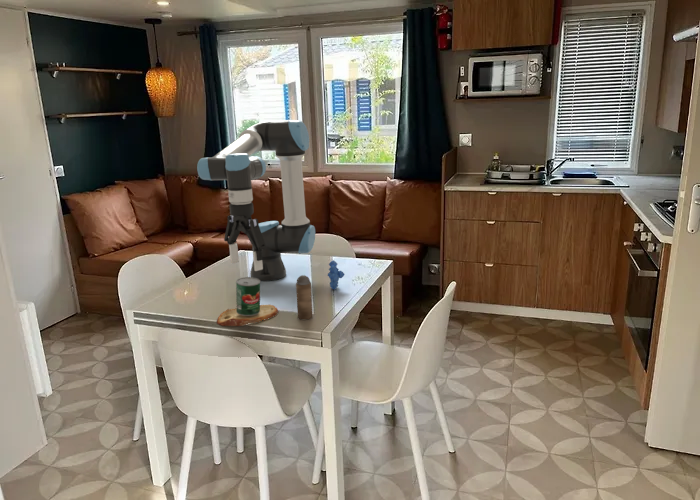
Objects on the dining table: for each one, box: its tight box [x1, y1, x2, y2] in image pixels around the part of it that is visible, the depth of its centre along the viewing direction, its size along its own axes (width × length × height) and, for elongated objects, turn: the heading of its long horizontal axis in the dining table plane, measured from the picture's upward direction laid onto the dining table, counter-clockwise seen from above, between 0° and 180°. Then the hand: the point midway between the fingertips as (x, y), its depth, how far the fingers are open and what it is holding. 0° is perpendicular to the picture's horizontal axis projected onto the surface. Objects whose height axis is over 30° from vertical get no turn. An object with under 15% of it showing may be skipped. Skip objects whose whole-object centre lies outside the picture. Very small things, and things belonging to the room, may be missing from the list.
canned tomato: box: [235, 276, 261, 316], centre depth 188 cm, size 8×8×11 cm
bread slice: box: [216, 304, 279, 327], centre depth 191 cm, size 18×18×4 cm
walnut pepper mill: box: [295, 274, 314, 320], centre depth 188 cm, size 5×5×15 cm
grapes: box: [327, 260, 345, 291], centre depth 217 cm, size 12×7×12 cm, turn 1°
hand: (246, 266), depth 184 cm, fingers open, 13 cm apart
